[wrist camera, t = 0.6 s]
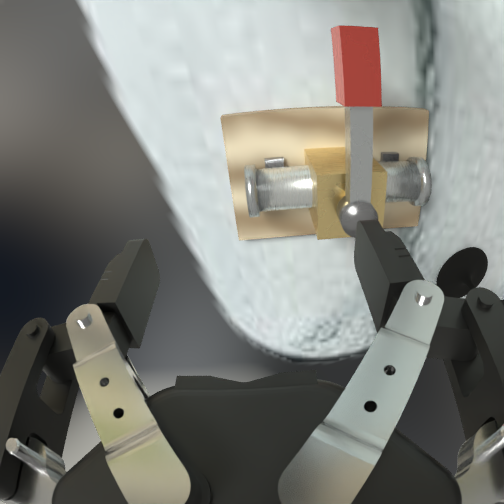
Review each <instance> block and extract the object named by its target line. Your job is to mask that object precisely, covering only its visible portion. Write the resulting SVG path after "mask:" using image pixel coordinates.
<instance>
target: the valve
mask: <svg viewBox="0 0 504 504" xmlns="http://www.w3.org/2000/svg"><path fill="white" fill-rule="evenodd" d="M304 156H305V165H300V166H286V167H284V158H283V157H272V158H264V160H265V168H263V169H256V167H255V164H254V165H245V168H244V174H245V189H246V198H247V206H248V212H249V217H250V218H252V217H260V212H264V211H275V210H287V209H299V208H308V209H309V212H310V215H311V218H312V222H313V225H314V228H315V232H316V235H317V239H318V240H320V239H332V238H344V237H351V236H349V235H348V234H346V233H345V231H344V230H343V228H342V225H341V223H340V221H339V219H338V216H337V213H336V208H337V205H338V202H339V201H340V200H341V198H343V197H344V196H345V147H329V148H310V149H304ZM431 186H432V184H431V174H430V170H429V167H428V165H427V163H426V161H425V160H424V159H423V158H422V157H409V158H408V159H407V160H406V161H399V153H398V152H381V159H380V162H377V161H376V160H375V159H374V158H373V163H372V187H371V204H372V205H373V207H374V208H375V210H376V211H377V214H378V221H379V222H380V224H381V226H382V228H383V221H384V211H385V203H390V202H410V204H411V205H413V206H422V205H425V204H426V203H427V202H428V200H429V198H430V195H431Z"/></svg>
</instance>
